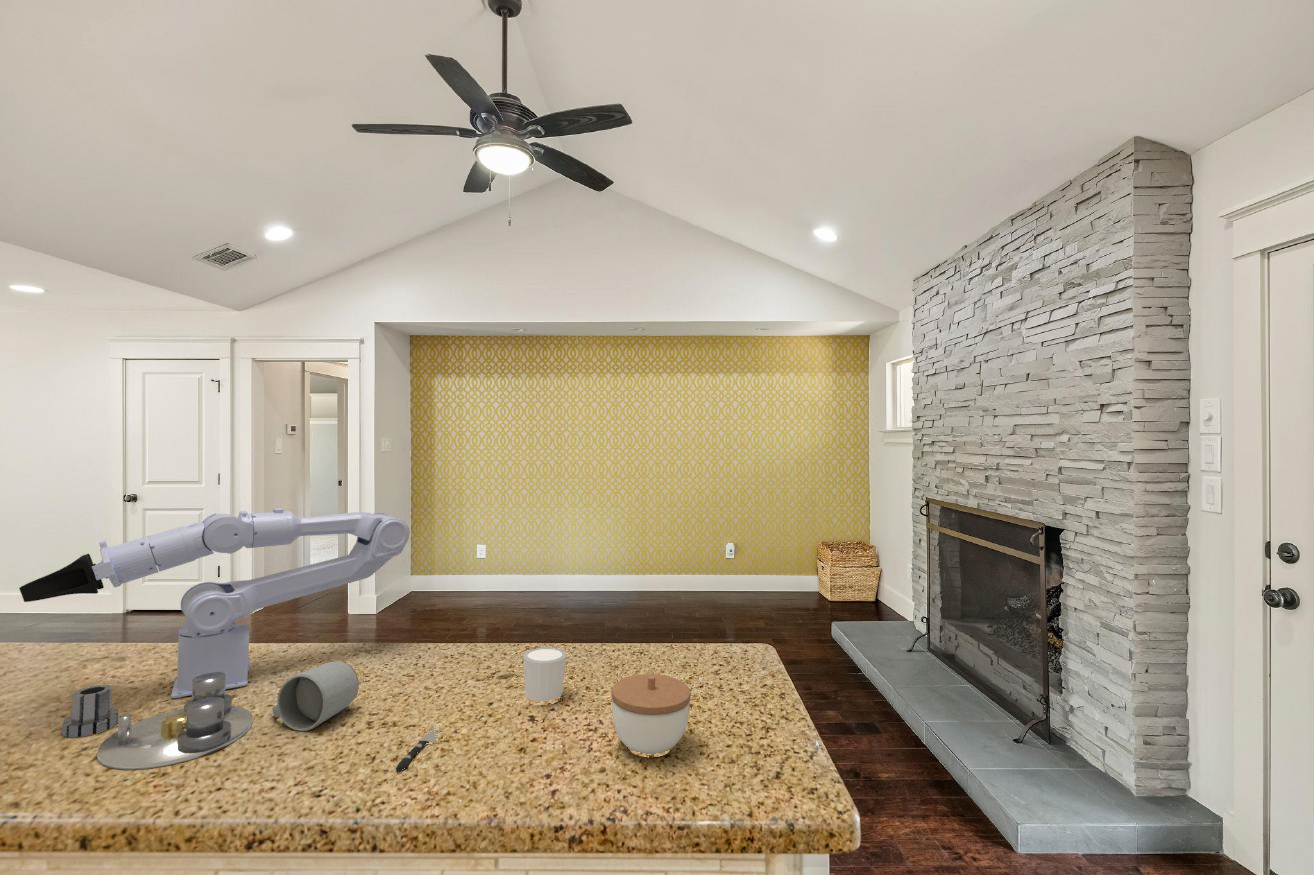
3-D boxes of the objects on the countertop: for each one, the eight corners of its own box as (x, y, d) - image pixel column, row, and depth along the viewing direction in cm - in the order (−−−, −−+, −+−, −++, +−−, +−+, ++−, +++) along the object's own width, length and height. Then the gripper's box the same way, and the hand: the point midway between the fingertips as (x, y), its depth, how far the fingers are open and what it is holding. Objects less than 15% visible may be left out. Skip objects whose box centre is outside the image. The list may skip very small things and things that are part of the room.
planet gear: (121, 714, 84) (123, 679, 84) (114, 730, 80) (116, 693, 80) (68, 724, 81) (69, 687, 81) (57, 741, 76) (59, 703, 76)
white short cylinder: (512, 702, 92) (514, 657, 92) (537, 686, 98) (538, 644, 98) (550, 711, 89) (551, 665, 89) (573, 694, 96) (574, 650, 96)
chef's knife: (475, 707, 91) (456, 705, 91) (475, 700, 91) (456, 698, 91) (417, 777, 72) (393, 774, 72) (417, 767, 72) (394, 764, 72)
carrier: (251, 700, 90) (253, 663, 90) (253, 746, 77) (254, 703, 77) (109, 726, 81) (111, 685, 81) (84, 784, 68) (86, 735, 68)
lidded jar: (634, 777, 73) (637, 700, 73) (596, 738, 82) (598, 670, 82) (704, 754, 78) (707, 684, 78) (661, 721, 87) (663, 657, 87)
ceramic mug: (362, 708, 88) (363, 656, 89) (323, 734, 80) (324, 678, 80) (299, 702, 90) (300, 651, 90) (255, 727, 82) (256, 672, 82)
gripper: (143, 530, 95) (23, 563, 86) (143, 529, 84) (6, 567, 75) (158, 571, 95) (41, 608, 86) (160, 575, 85) (26, 619, 76)
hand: (26, 592), depth 81 cm, fingers open, 7 cm apart
